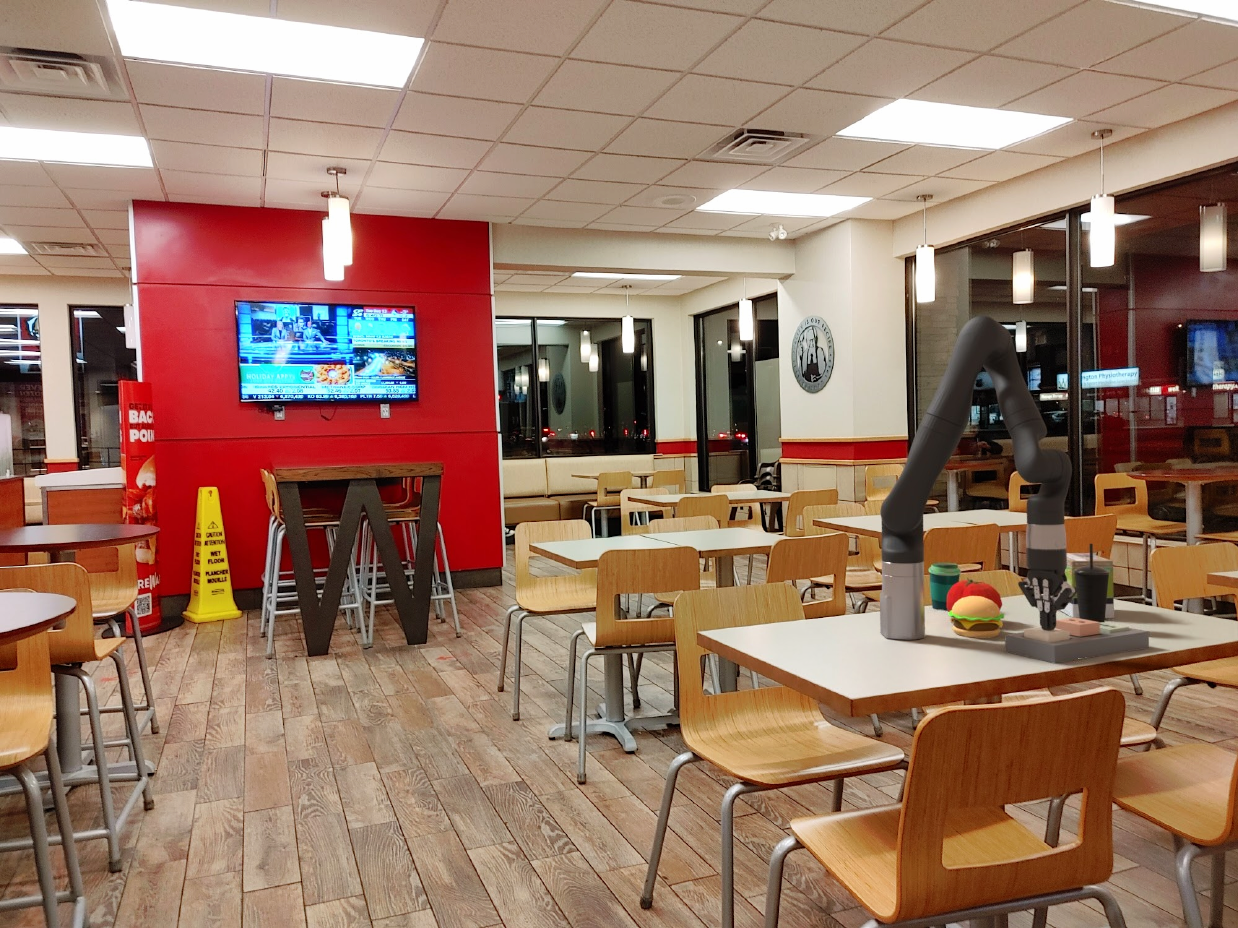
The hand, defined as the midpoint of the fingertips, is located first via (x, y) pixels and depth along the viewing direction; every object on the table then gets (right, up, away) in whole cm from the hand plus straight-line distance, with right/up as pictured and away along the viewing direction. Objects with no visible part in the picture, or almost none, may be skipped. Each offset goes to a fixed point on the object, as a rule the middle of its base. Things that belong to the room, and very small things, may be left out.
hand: (1048, 629), depth 182 cm
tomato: (-2, -5, +34) cm, 34 cm away
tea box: (+30, -4, +43) cm, 53 cm away
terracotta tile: (+8, -1, +4) cm, 9 cm away
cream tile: (0, -3, 0) cm, 3 cm away
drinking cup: (+22, -5, +24) cm, 33 cm away
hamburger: (-6, -5, +21) cm, 23 cm away
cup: (-2, -5, +53) cm, 53 cm away
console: (+8, -5, +4) cm, 10 cm away
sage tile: (+16, -3, +7) cm, 18 cm away
